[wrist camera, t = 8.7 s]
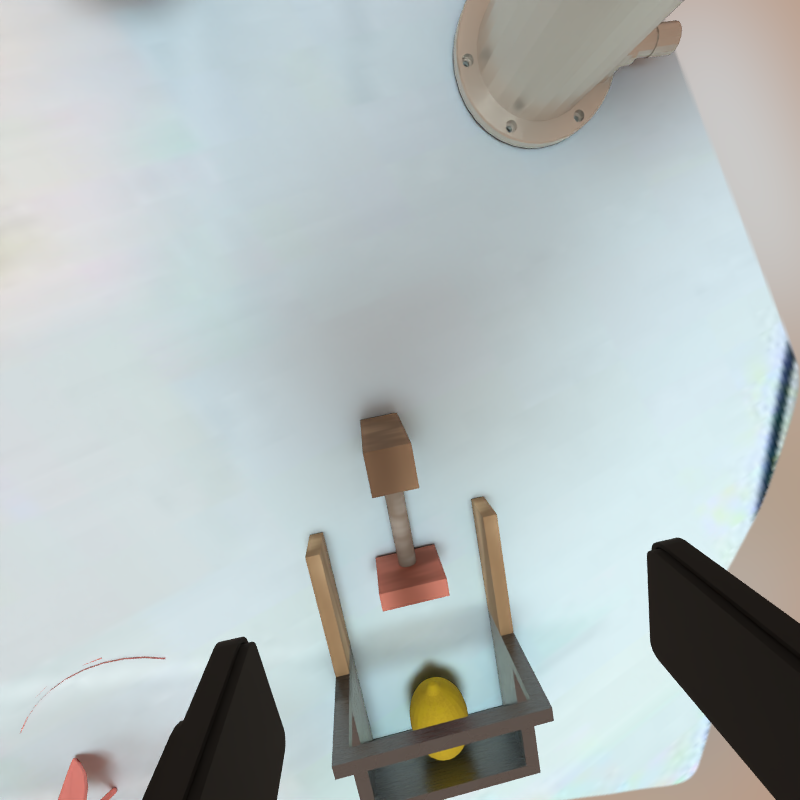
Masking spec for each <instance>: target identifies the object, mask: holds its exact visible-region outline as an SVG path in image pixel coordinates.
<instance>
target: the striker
mask: <svg viewBox="0 0 800 800" xmlns="http://www.w3.org/2000/svg"><path fill="white" fill-rule="evenodd" d="M360 422H361V435H362V447H363V456H364V461H365V465H366V470H367V475H368V480H369V484H370V489H371V494H372V498H376V497H380V496H385V498H386V503H387V508H388V513H389V518H390V523H391V528H392V533H393V538H394V543H395V547H396V552H397V553H394V554H390V555H386V556H381V557H377V558H376V566H377V576H378V586H379V596H380V600H381V605H382V609H383V611H387V610H391V609H395V608H400V607H404V606H408V605H412V604H416V603H420V602H425V601H429V600H433V599H437V598H441V597H445V596H449V589H448V583H447V578H446V575H445V573H444V570H443V567H442V564H441V562H440V559H439V556H438V553H437V551H436V548H435V545H429V546H425V547H421V548H416V549H414V545H413V540H412V535H411V530H410V524H409V519H408V514H407V509H406V504H405V498H404V493H403V491H408V490H412V489H417V488H419V484H418V478H417V473H416V467H415V462H414V456H413V451H412V445H411V442H410V440H409V438H408V436H407V434H406V431H405V429H404V427H403V425H402V423H401V421H400V419H399V417H398V415H397V413H393V414H388V415H383V416H378V417H373V418H368V419H363V420H360Z"/></svg>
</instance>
